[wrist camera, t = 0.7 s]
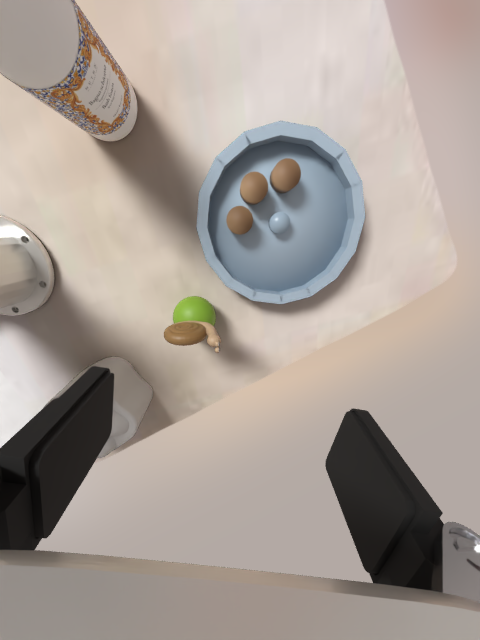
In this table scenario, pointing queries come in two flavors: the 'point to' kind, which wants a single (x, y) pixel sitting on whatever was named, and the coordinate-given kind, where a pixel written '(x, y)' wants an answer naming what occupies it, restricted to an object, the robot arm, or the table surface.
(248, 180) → the bead
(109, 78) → the bath foam
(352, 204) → the tray
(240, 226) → the bead
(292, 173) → the bead
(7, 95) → the table surface
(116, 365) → the lumpy-topped squat cylinder
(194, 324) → the snail figurine
